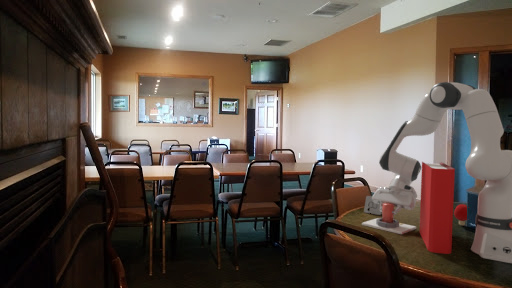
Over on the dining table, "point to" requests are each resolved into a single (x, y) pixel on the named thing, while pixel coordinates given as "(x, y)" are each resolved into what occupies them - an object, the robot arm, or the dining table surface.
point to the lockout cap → (387, 212)
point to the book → (437, 207)
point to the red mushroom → (461, 213)
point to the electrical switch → (371, 206)
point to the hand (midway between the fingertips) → (387, 212)
